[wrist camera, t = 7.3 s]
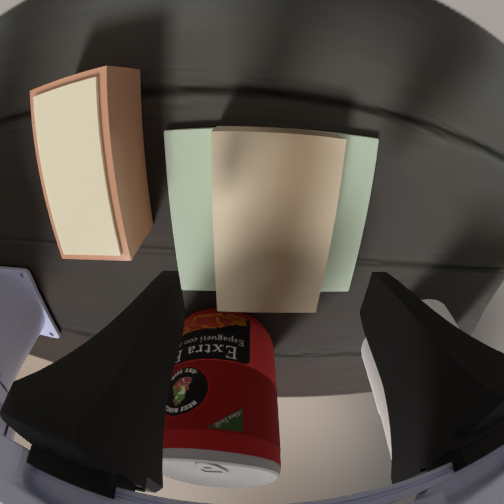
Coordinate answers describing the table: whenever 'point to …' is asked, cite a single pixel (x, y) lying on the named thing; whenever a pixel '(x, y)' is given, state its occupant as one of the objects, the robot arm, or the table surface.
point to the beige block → (273, 215)
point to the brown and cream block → (93, 162)
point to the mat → (201, 214)
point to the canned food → (223, 404)
